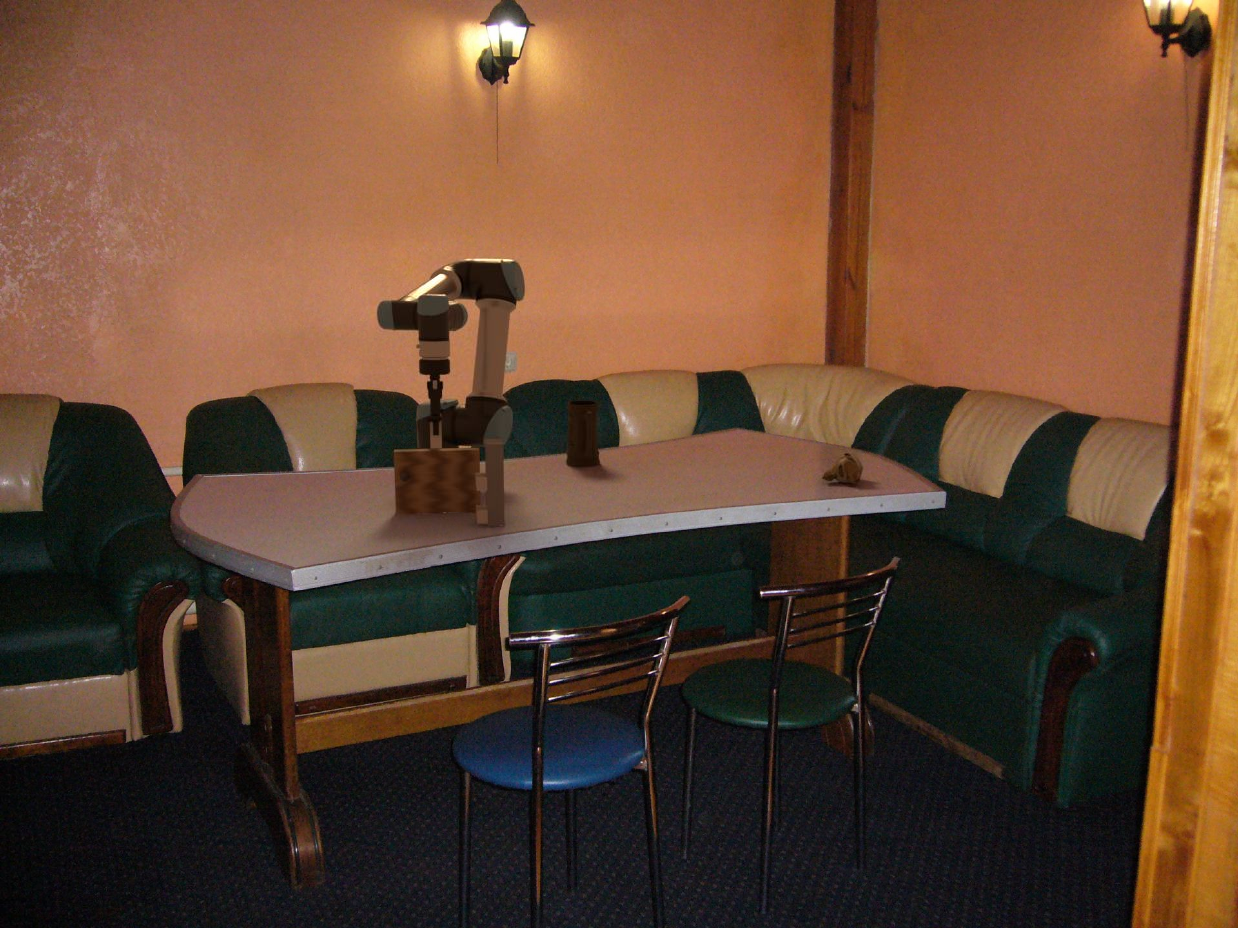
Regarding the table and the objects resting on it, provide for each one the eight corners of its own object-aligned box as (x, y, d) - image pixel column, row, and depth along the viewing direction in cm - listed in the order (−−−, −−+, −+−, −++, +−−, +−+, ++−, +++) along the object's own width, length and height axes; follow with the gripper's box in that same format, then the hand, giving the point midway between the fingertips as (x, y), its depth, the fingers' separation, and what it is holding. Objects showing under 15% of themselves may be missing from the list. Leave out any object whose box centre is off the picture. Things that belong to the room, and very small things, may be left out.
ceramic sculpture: (871, 449, 311) (857, 461, 298) (870, 478, 313) (856, 491, 300) (835, 446, 315) (820, 458, 303) (835, 475, 318) (819, 487, 305)
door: (395, 516, 265) (393, 452, 262) (396, 512, 270) (394, 449, 267) (480, 513, 269) (479, 450, 266) (480, 509, 273) (479, 447, 270)
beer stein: (560, 461, 335) (561, 399, 330) (590, 458, 339) (592, 398, 334) (578, 473, 322) (580, 410, 317) (610, 470, 326) (612, 407, 321)
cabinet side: (477, 527, 255) (475, 445, 251) (476, 519, 263) (474, 439, 259) (504, 526, 256) (503, 444, 252) (502, 518, 264) (501, 438, 260)
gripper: (419, 353, 274) (421, 435, 278) (417, 363, 250) (420, 452, 254) (449, 353, 275) (450, 435, 279) (450, 362, 251) (452, 451, 255)
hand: (436, 443), depth 266 cm, fingers open, 13 cm apart
